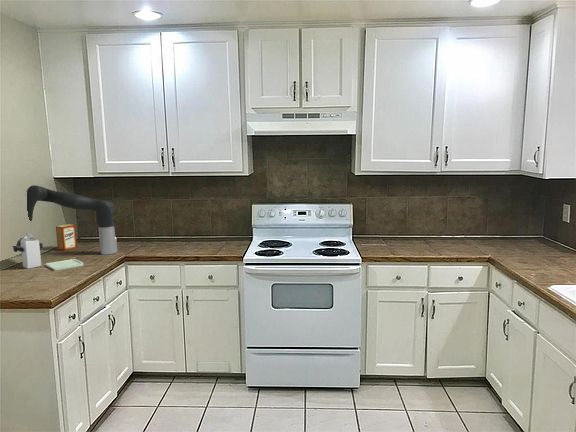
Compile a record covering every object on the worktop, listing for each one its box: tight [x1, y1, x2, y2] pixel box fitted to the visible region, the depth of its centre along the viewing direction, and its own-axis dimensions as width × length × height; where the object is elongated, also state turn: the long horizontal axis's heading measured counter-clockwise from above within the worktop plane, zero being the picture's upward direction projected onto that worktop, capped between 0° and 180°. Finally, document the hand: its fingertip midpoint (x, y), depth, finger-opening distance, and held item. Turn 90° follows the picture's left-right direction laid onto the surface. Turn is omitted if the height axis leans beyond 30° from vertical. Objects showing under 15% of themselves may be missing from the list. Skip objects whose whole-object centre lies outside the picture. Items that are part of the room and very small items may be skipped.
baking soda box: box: [55, 223, 78, 251], centre depth 298 cm, size 10×6×16 cm
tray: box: [45, 258, 85, 272], centre depth 254 cm, size 16×16×1 cm
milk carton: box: [20, 233, 42, 270], centre depth 251 cm, size 7×7×19 cm
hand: (31, 248), depth 250 cm, fingers open, 8 cm apart
